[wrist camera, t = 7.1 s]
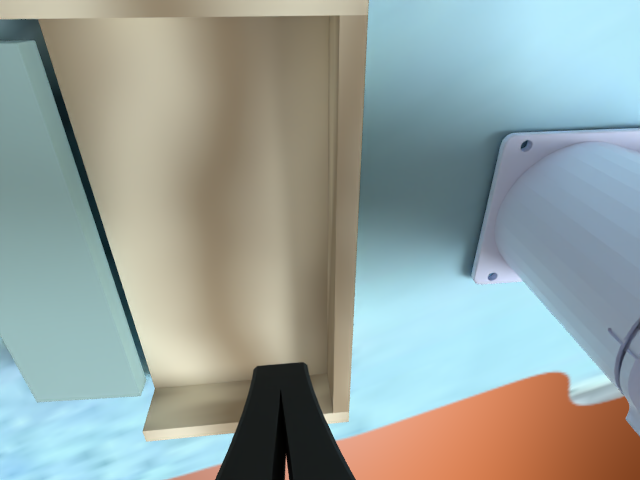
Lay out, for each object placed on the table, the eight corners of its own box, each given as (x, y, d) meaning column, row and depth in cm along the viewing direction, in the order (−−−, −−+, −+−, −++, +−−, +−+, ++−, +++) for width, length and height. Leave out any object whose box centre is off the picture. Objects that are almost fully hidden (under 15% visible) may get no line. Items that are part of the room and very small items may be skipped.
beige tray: (346, -50, 14) (371, -65, 11) (337, 373, 25) (347, 433, 21) (39, -51, 13) (-42, -67, 10) (167, 388, 24) (150, 453, 21)
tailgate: (17, 43, 12) (-160, 45, 12) (140, 395, 21) (36, 402, 20) (34, 40, 13) (-131, 42, 13) (146, 379, 21) (47, 385, 21)
